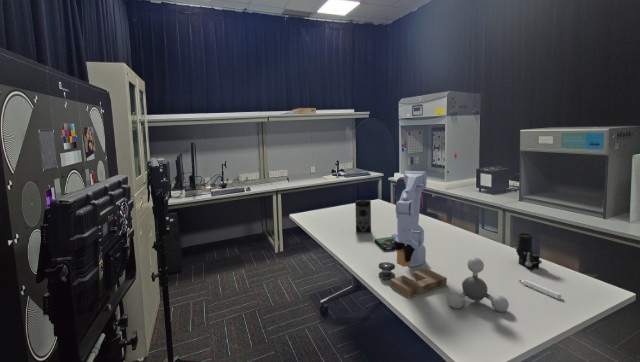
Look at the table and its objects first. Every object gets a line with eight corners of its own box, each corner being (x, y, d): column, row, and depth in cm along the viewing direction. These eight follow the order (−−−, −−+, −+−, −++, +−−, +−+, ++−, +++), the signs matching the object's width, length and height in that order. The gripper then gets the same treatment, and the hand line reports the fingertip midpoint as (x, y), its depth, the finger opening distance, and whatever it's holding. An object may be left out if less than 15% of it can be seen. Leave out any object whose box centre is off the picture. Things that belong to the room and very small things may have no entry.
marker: (518, 283, 135) (559, 301, 120) (515, 282, 134) (556, 299, 119) (520, 277, 135) (562, 294, 120) (517, 276, 134) (559, 292, 119)
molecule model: (480, 308, 129) (451, 261, 134) (518, 297, 119) (486, 247, 124) (462, 332, 114) (430, 279, 119) (504, 322, 104) (468, 264, 109)
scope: (529, 240, 142) (510, 233, 151) (527, 270, 144) (509, 262, 153) (544, 238, 144) (525, 231, 153) (542, 267, 146) (523, 259, 155)
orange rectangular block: (404, 261, 143) (404, 248, 142) (410, 264, 139) (410, 251, 138) (397, 263, 141) (397, 250, 140) (403, 266, 137) (403, 253, 136)
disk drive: (402, 250, 175) (390, 241, 189) (402, 245, 174) (390, 236, 189) (383, 252, 173) (373, 242, 187) (383, 247, 172) (373, 238, 187)
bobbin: (388, 271, 148) (387, 261, 147) (398, 277, 142) (398, 266, 141) (375, 275, 145) (375, 264, 144) (385, 281, 139) (385, 270, 138)
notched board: (426, 274, 143) (426, 268, 143) (446, 284, 134) (446, 277, 133) (390, 286, 134) (390, 279, 134) (409, 297, 125) (409, 290, 124)
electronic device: (355, 233, 204) (355, 201, 201) (356, 230, 210) (355, 199, 207) (371, 233, 202) (370, 201, 199) (371, 230, 208) (370, 199, 205)
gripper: (385, 226, 142) (386, 255, 144) (408, 234, 129) (408, 267, 131) (398, 223, 145) (398, 252, 147) (422, 231, 133) (422, 263, 135)
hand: (404, 259), depth 140 cm, fingers closed on orange rectangular block, 4 cm apart
